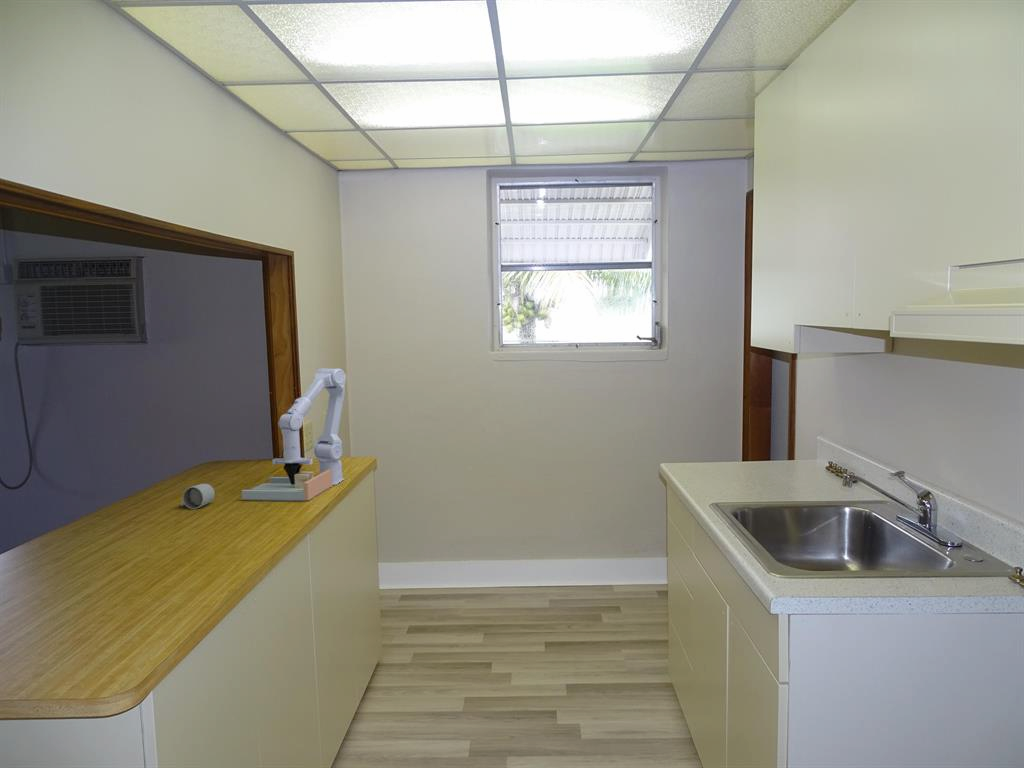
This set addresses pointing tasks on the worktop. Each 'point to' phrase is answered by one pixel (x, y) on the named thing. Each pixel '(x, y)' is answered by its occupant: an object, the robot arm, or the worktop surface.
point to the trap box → (289, 489)
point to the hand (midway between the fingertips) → (293, 483)
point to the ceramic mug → (198, 496)
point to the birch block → (302, 478)
